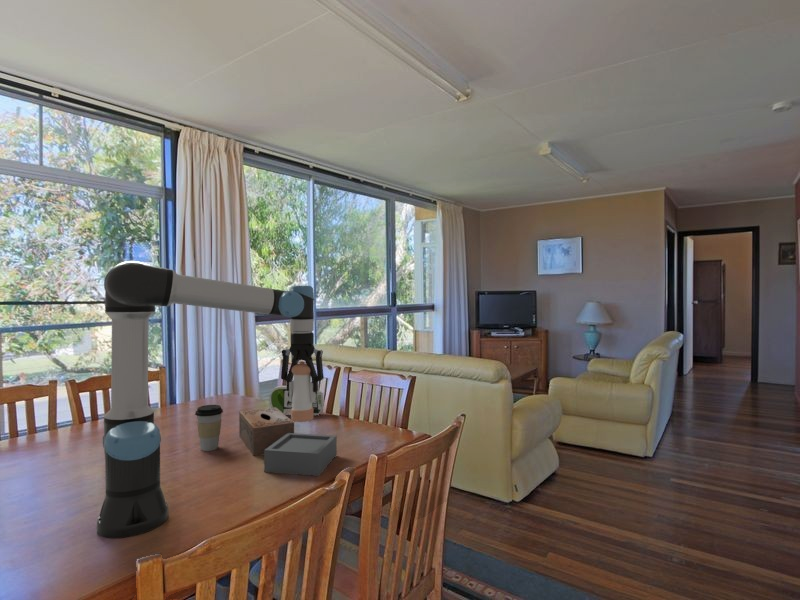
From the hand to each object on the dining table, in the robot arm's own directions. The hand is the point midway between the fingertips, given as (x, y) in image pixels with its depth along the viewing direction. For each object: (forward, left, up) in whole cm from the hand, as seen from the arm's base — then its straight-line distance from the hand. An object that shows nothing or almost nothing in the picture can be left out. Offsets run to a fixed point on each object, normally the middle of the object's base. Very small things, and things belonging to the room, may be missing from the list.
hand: (302, 401), depth 150 cm
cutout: (+56, +26, -21) cm, 65 cm away
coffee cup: (+8, +39, -21) cm, 45 cm away
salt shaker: (0, 0, -6) cm, 6 cm away
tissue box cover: (+18, +22, -21) cm, 36 cm away
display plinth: (0, 0, -21) cm, 21 cm away
